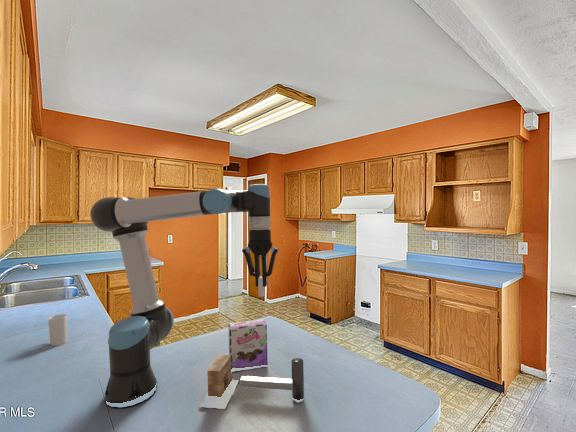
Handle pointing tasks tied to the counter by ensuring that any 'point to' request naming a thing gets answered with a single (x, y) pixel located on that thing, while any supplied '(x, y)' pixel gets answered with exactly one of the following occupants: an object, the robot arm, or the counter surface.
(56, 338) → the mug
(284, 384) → the hook rod
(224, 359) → the eye block
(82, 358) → the counter surface
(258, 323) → the candy box
